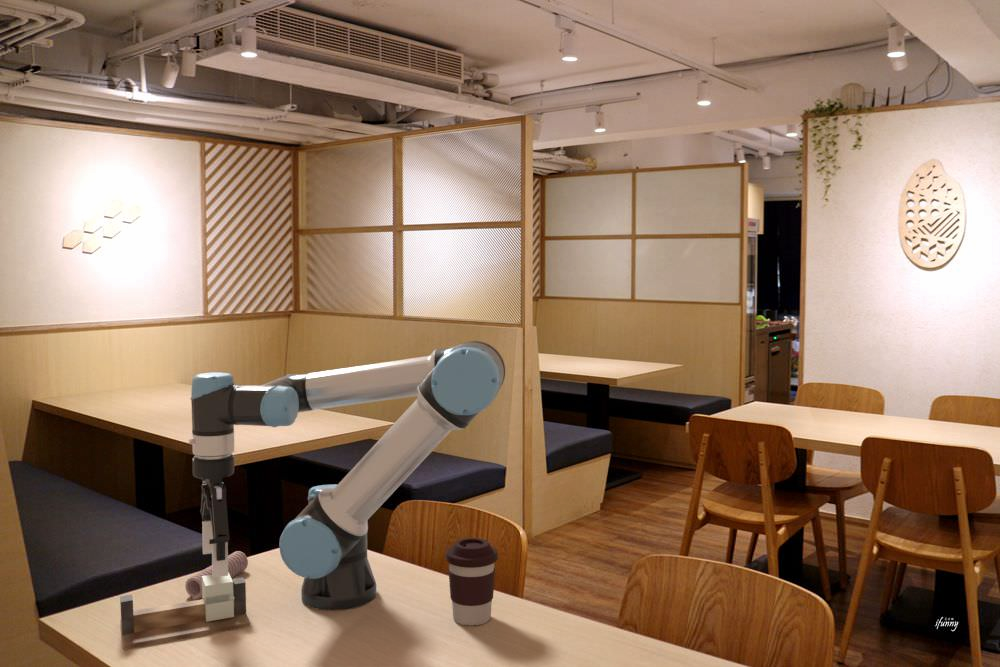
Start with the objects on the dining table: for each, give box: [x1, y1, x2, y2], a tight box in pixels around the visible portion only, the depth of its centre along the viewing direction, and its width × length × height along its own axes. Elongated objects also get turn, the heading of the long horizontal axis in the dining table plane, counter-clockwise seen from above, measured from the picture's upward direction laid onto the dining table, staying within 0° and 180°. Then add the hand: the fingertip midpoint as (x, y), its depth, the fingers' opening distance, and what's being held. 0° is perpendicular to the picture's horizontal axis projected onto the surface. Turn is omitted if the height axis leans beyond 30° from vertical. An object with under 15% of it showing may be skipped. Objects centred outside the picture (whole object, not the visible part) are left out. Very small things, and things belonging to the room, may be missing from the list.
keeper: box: [201, 572, 234, 622], centre depth 165 cm, size 5×6×7 cm
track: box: [119, 576, 251, 650], centre depth 163 cm, size 22×12×7 cm, turn 116°
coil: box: [184, 550, 249, 601], centre depth 184 cm, size 5×5×18 cm
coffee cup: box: [445, 537, 499, 627], centre depth 166 cm, size 10×10×15 cm
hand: (215, 564), depth 165 cm, fingers open, 13 cm apart
